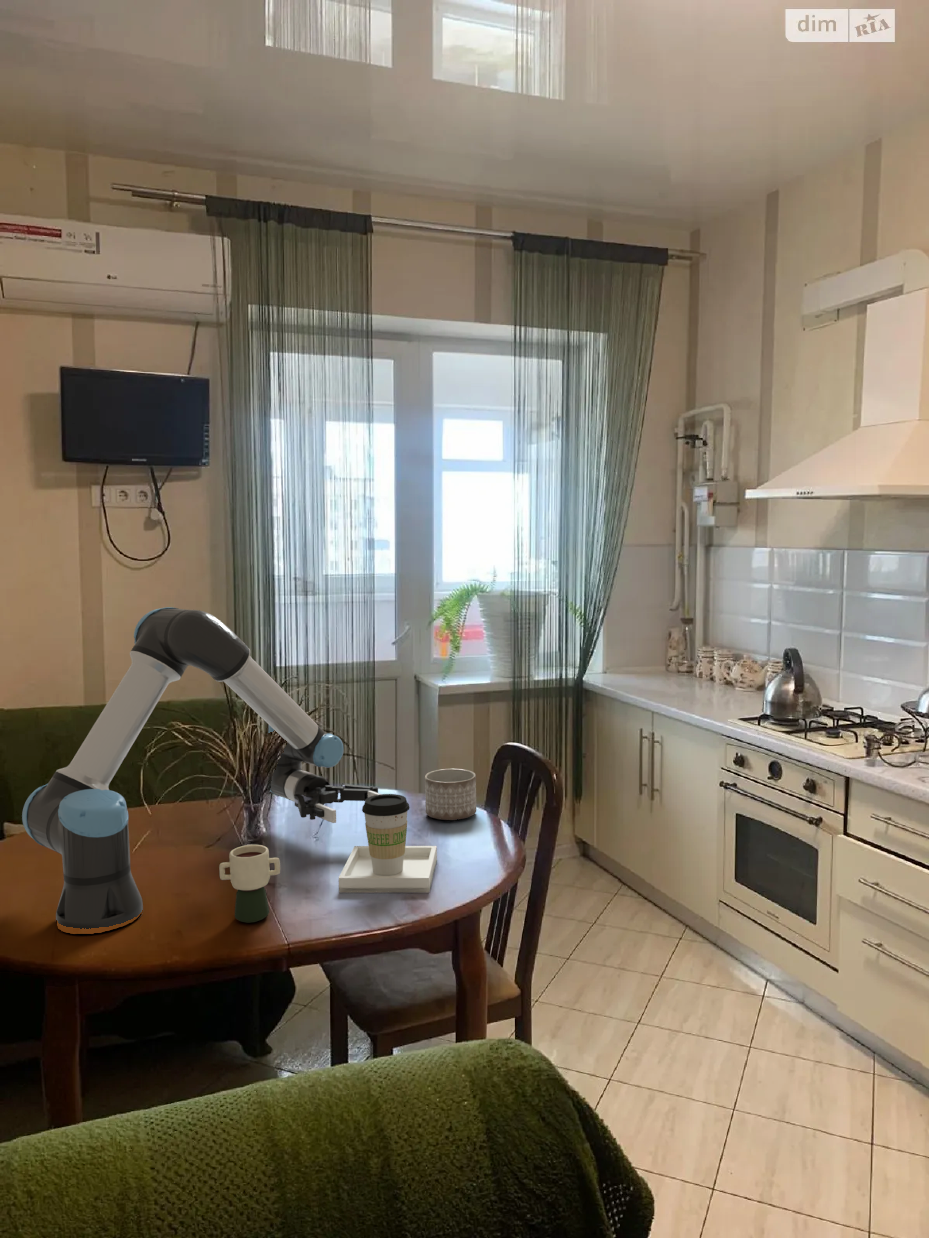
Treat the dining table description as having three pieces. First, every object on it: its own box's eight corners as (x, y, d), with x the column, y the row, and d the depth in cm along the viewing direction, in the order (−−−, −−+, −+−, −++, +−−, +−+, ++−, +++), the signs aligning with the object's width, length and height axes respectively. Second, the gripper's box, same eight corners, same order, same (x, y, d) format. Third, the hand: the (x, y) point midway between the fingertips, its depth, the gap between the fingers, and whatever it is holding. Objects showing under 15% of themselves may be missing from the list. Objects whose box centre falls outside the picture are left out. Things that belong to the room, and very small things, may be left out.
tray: (429, 892, 177) (428, 877, 177) (339, 892, 178) (338, 877, 178) (437, 859, 195) (436, 845, 195) (355, 859, 196) (354, 846, 196)
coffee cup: (377, 882, 180) (375, 809, 179) (355, 868, 188) (353, 798, 187) (420, 871, 185) (418, 800, 184) (397, 858, 194) (394, 790, 192)
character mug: (281, 907, 172) (279, 841, 170) (282, 923, 165) (279, 854, 164) (223, 913, 170) (219, 847, 168) (220, 929, 163) (217, 860, 161)
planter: (415, 816, 225) (414, 775, 224) (452, 804, 234) (451, 765, 233) (449, 827, 216) (448, 785, 215) (486, 815, 225) (486, 774, 224)
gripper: (353, 794, 217) (407, 813, 201) (260, 817, 201) (312, 840, 185) (352, 763, 216) (406, 780, 201) (259, 784, 200) (310, 804, 184)
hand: (361, 809), depth 193 cm, fingers open, 13 cm apart
